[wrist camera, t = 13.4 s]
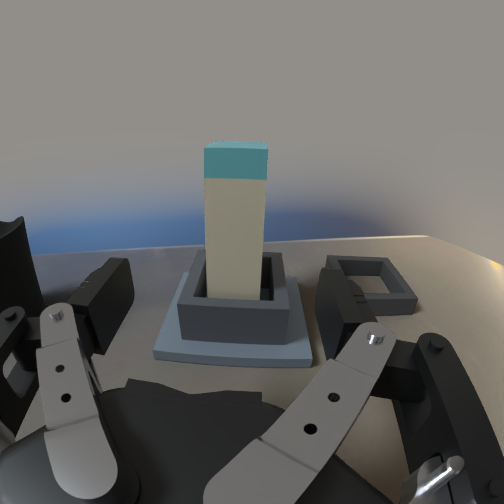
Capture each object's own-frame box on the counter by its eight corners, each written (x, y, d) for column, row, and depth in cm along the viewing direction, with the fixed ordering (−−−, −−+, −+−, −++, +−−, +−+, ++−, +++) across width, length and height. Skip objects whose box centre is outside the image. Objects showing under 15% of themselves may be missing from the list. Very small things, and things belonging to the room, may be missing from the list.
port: (295, 284, 32) (299, 247, 30) (310, 367, 21) (321, 323, 19) (185, 279, 32) (182, 242, 30) (154, 358, 21) (144, 313, 19)
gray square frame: (383, 271, 35) (387, 257, 34) (412, 314, 27) (418, 298, 26) (324, 270, 35) (327, 255, 34) (342, 316, 27) (346, 299, 26)
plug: (258, 294, 28) (266, 142, 22) (257, 327, 24) (267, 149, 18) (216, 291, 28) (215, 141, 22) (209, 325, 24) (204, 147, 18)
